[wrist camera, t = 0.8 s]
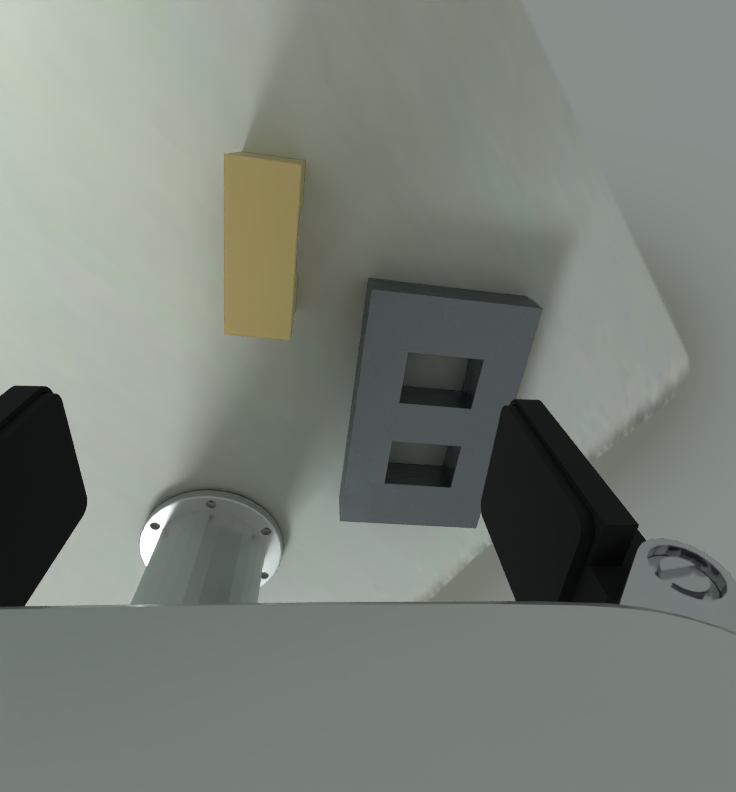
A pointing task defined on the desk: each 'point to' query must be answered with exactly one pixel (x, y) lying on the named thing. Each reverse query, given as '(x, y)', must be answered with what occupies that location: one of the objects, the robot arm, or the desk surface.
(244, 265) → the yellow u-shaped block
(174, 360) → the desk surface
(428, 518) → the grey slotted board
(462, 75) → the desk surface
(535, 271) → the desk surface
